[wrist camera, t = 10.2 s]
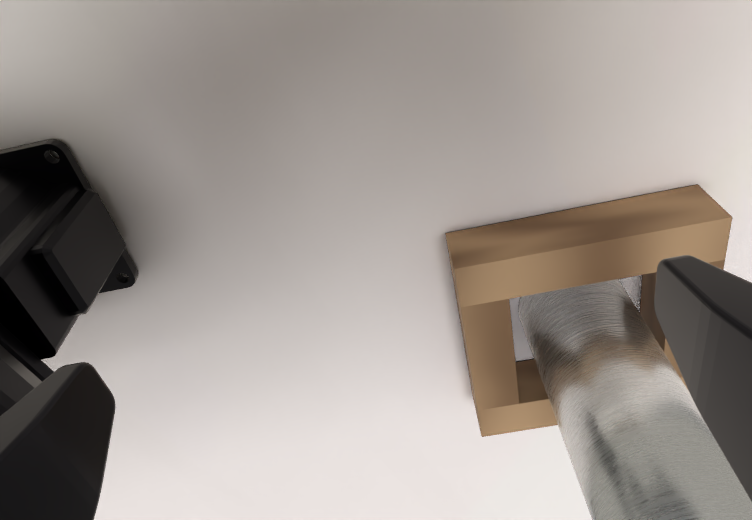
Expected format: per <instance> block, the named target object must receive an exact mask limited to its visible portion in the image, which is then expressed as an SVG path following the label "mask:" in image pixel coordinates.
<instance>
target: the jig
mask: <svg viewBox="0 0 752 520" xmlns="http://www.w3.org/2000/svg"><path fill="white" fill-rule="evenodd" d="M731 221H732V216H731V215H729V214H728V213H727V212H726V211H725V210H724V209H723V208H722V207H721V206H720V205H719V204H718V203H717V202H716V201H715V200H714V199H713V198H712V197H710V196H709V195H708V194H707V193H706V192H705V191H704V190H703V189H702V188H701V187H700V186H699V185H693V186H688V187H682V188H677V189H672V190H667V191H662V192H657V193H651V194H646V195H641V196H636V197H631V198H626V199H620V200H615V201H610V202H605V203H600V204H595V205H589V206H584V207H579V208H574V209H569V210H564V211H558V212H553V213H548V214H543V215H538V216H533V217H527V218H522V219H517V220H512V221H507V222H502V223H496V224H491V225H486V226H481V227H476V228H471V229H465V230H460V231H455V232H450V233H445V234H446V240H447V246H448V252H449V258H450V264H451V270H452V275H453V281H454V287H455V293H456V299H457V305H458V311H459V317H460V323H461V329H462V335H463V341H464V347H465V353H466V359H467V365H468V371H469V377H470V383H471V388H472V394H473V399H474V404H475V408H476V413H477V418H478V422H479V427H480V431H481V436H482V437H484V436H491V435H497V434H503V433H509V432H516V431H522V430H528V429H535V428H541V427H547V426H553V425H558V423H557V421H556V418H555V415H554V412H553V409H552V407H551V404H550V401H549V398H548V396H547V393H546V390H545V387H544V384H543V382H542V379H541V376H540V373H539V371H538V368H537V365H536V362H535V360H534V359H532V360H526V361H520V362H515V354H514V344H513V334H512V324H511V314H510V304H509V299H510V298H516V297H522V296H527V295H533V294H538V293H544V292H549V291H555V290H560V289H566V288H571V287H577V286H582V285H588V284H593V283H599V282H604V281H610V280H616V279H621V278H627V277H632V276H638V275H643V276H642V290H641V304H640V315H641V316H642V318H643V320H644V321H645V323H646V324H647V326H648V327H649V329H650V331H651V332H652V334H653V335H654V337H655V339H656V340H657V342H658V343H659V345H660V347H661V348H662V350H663V351H664V353H665V354H666V356H667V358H668V359H669V361H670V362H671V364H672V366H673V367H674V369H675V370H676V372H677V374H678V375H679V377H680V378H681V380H682V382H683V383H684V385H685V386H686V383H685V381H684V379H683V377H682V374H681V372H680V370H679V367H678V365H677V363H676V360H675V358H674V356H673V354H672V351H671V349H670V347H669V344H668V342H667V340H666V337H665V335H664V333H663V331H662V328H661V326H660V324H659V321H658V319H657V317H656V313H655V309H654V295H655V284H656V273H657V266H658V264H659V262H660V261H661V260H663V259H666V258H671V257H677V256H683V255H691V256H693V257H696V258H698V259H700V260H702V261H705V262H707V263H709V264H711V265H713V266H716V267H718V268H720V269H722V270H723V268H724V262H725V257H726V251H727V245H728V239H729V233H730V227H731ZM686 388H687V386H686ZM687 389H688V388H687ZM688 391H689V390H688ZM689 393H690V392H689Z"/></svg>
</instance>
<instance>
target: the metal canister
mask: <svg viewBox="0 0 752 520" xmlns="http://www.w3.org/2000/svg"><path fill="white" fill-rule="evenodd" d="M518 312H519V318H520V321H521V323H522V326H523V329H524V332H525V335H526V337H527V340H528V343H529V346H530V348H531V351H532V354H533V357H534V360H535V362H536V365H537V368H538V371H539V373H540V376H541V379H542V382H543V384H544V387H545V390H546V393H547V396H548V398H549V401H550V404H551V407H552V409H553V412H554V415H555V418H556V421H557V423H558V426H559V429H560V432H561V434H562V437H563V440H564V443H565V445H566V448H567V451H568V454H569V457H570V459H571V462H572V465H573V468H574V470H575V473H576V476H577V479H578V482H579V484H580V487H581V490H582V493H583V495H584V498H585V501H586V504H587V506H588V509H589V512H590V515H591V518H592V520H752V502H751V500H750V498H749V497H748V495H747V493H746V492H745V490H744V488H743V486H742V485H741V483H740V481H739V480H738V478H737V476H736V474H735V473H734V471H733V469H732V468H731V466H730V464H729V462H728V461H727V459H726V457H725V456H724V454H723V452H722V451H721V449H720V447H719V445H718V444H717V442H716V440H715V439H714V437H713V435H712V433H711V432H710V430H709V428H708V427H707V425H706V423H705V421H704V420H703V418H702V416H701V414H700V412H699V411H698V409H697V407H696V405H695V403H694V401H693V399H692V397H691V395H690V393H689V391H688V389H687V388H686V386H685V385H684V383H683V382H682V380H681V378H680V377H679V375H678V374H677V372H676V370H675V369H674V367H673V366H672V364H671V362H670V361H669V359H668V358H667V356H666V354H665V353H664V351H663V350H662V348H661V347H660V345H659V343H658V342H657V340H656V339H655V337H654V335H653V334H652V332H651V331H650V329H649V327H648V326H647V324H646V323H645V321H644V320H643V318H642V316H641V315H640V313H639V312H638V310H637V308H636V307H635V305H634V304H633V302H632V300H631V299H630V297H629V296H628V294H627V292H626V291H625V289H624V288H623V286H622V285H621V283H620V281H619V280H618V279H616V280H610V281H604V282H599V283H593V284H588V285H582V286H577V287H571V288H566V289H560V290H555V291H549V292H544V293H538V294H533V295H527V296H522V297H521V299H520V303H519V311H518Z"/></svg>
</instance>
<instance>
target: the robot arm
mask: <svg viewBox="0 0 752 520" xmlns="http://www.w3.org/2000/svg"><path fill="white" fill-rule="evenodd" d="M49 150H52V151H54V152H56V153H57V154H58V155H59V158H60V159H56V158H54V157H53V156H52V155H51V154H50V152H49ZM125 246H126V245H125V242H124V241H123V239H122V237H121V235H120V234H119V232H118V230H117V228H116V226H115V225H114V223H113V221H112V219H111V217H110V216H109V214H108V212H107V210H106V208H105V207H104V205H103V203H102V201H101V199H100V198H99V196H98V194H97V193H96V192H94V191H93V190H92V189H91V187H90V185H89V183H88V181H87V180H86V178H85V176H84V174H83V173H82V171H81V169H80V167H79V165H78V164H77V162H76V160H75V158H74V156H73V155H72V153H71V151H70V149H69V148H68V147H67V146H66V145H65V144H64V143H63V142H61V141H58V140H55V139H51V140H45V141H41V142H36V143H32V144H27V145H23V146H18V147H14V148H9V149H5V150H0V520H94V516H95V513H96V509H97V505H98V501H99V497H100V493H101V488H102V483H103V477H104V472H105V466H106V460H107V454H108V448H109V443H110V437H111V431H112V425H113V419H114V414H115V400H114V397H113V394H112V393H111V391H110V390H109V388H108V387H107V385H106V384H105V383H104V381H103V380H102V378H101V377H100V375H99V374H98V372H97V371H96V370H95V368H94V367H93V366H92V365H91V364H89V363H85V362H82V363H76V364H70V365H65V366H62V367H60V368H59V369H57V370H56V371H55V372H54V371H53V370H51V369H50V368H49V367H48V366H47V365H46V364H45V363H44V362H43V361H41V360H40V359H46V358H51V357H53V356H55V355H56V353H57V351H58V350H59V348H60V346H61V345H62V343H63V342H64V340H65V338H66V337H67V335H68V333H69V332H70V330H71V328H72V327H73V325H74V323H75V322H76V320H77V318H78V317H79V315H81V314H86V313H87V312H88V310H89V308H90V307H91V305H92V303H93V302H94V300H95V298H96V297H97V295H98V293H102V292H107V291H112V290H118V289H123V288H128V287H131V286H132V285H133V284H134V283H135V281H136V279H137V277H138V271H137V269H136V267H135V265H134V264H133V262H132V260H131V258H130V256H129V255H128V253H127V251H126V249H125ZM120 273H124V274H126V275H127V276H128V277H124V276H122V275H121V274H120ZM654 309H655V313H656V317H657V319H658V321H659V324H660V326H661V328H662V331H663V333H664V335H665V337H666V340H667V342H668V344H669V347H670V349H671V351H672V354H673V356H674V358H675V360H676V363H677V365H678V367H679V370H680V372H681V374H682V377H683V379H684V381H685V383H686V386H687V388H688V390H689V392H690V395H691V397H692V399H693V401H694V403H695V405H696V407H697V409H698V411H699V412H700V414H701V416H702V418H703V420H704V421H705V423H706V425H707V427H708V428H709V430H710V432H711V433H712V435H713V437H714V439H715V440H716V442H717V444H718V445H719V447H720V449H721V451H722V452H723V454H724V456H725V457H726V459H727V461H728V462H729V464H730V466H731V468H732V469H733V471H734V473H735V474H736V476H737V478H738V480H739V481H740V483H741V485H742V486H743V488H744V490H745V492H746V493H747V495H748V497H749V498H750V500H751V502H752V283H751V282H749V281H746V280H744V279H742V278H740V277H738V276H735V275H733V274H731V273H729V272H727V271H724V270H722V269H720V268H718V267H716V266H713V265H711V264H709V263H707V262H705V261H702V260H700V259H698V258H696V257H693V256H691V255H683V256H677V257H671V258H666V259H663V260H661V261H660V262H659V264H658V266H657V273H656V284H655V295H654Z"/></svg>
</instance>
